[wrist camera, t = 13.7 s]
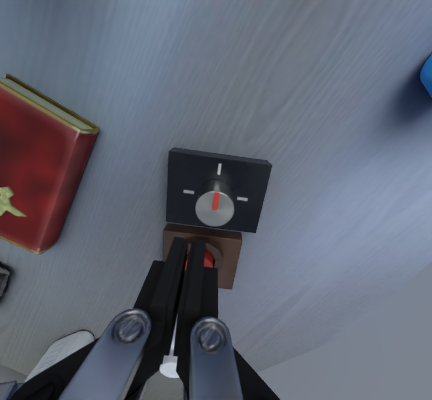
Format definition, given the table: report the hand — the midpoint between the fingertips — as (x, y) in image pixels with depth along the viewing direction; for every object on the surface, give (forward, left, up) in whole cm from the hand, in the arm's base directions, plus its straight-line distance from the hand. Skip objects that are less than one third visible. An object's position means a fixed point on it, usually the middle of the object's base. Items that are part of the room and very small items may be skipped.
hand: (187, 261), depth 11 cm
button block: (0, -14, -19) cm, 24 cm away
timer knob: (+1, -2, -16) cm, 17 cm away
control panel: (+1, -2, -19) cm, 20 cm away
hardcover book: (-25, -3, -20) cm, 32 cm away
